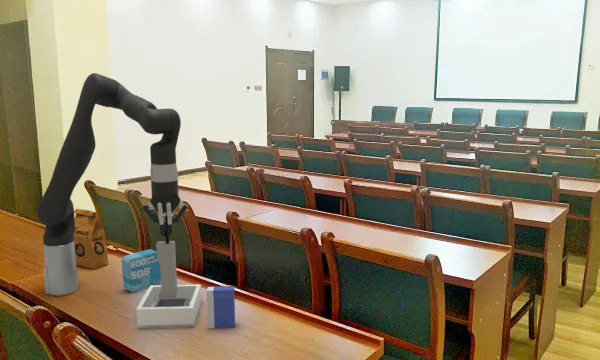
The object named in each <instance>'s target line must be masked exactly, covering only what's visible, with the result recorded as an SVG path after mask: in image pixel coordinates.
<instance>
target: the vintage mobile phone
mask: <svg viewBox="0 0 600 360" xmlns="http://www.w3.org/2000/svg"><path fill="white" fill-rule="evenodd" d="M165 224H166V237H165V241H163V240H162V241H161V240H160V241H158V240H157V243H155V244H156V245H155V248H156V249H155V251H156V252H157V256H158V261H159V263H160V269H161V281H160V284H161V290H160V293H159V298H175V297H176V294H177V285H178V280H177V278H178V276H177V261H176V260H177V258H176V256H177V255H176V241H174V240H169V239H170V237H168V233H167V225H168V217H167V215H165Z"/></svg>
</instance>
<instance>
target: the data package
mask: <svg viewBox="0 0 600 360" xmlns="http://www.w3.org/2000/svg"><path fill="white" fill-rule="evenodd" d="M121 269H122V270H121V271H122V285H123V288H124V290H127V291H129V292H131V293H135V292H136V293H137V292H139V291H141V290H142V291H143V290H145V289H148V288H149V287H150V285H160V284H161V269H160V263H159V261H158V256H157V250H153V249H151V248H150V249H144V250H142V251H138V252H134V253H130V254H125V255H124V256H123V257H122V259H121Z"/></svg>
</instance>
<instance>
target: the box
mask: <svg viewBox="0 0 600 360" xmlns="http://www.w3.org/2000/svg"><path fill="white" fill-rule="evenodd" d="M160 290H161V285H160V284H157V285H150V287H148V288H147V290H146V292H145V294H144V295H143V297H142V299H141V301H140V302H139V304H138V305H137V307H136V309H135V312H136V314H135V315H136V328H137V330H143V329H144V330H148V329H150V330H151V329H179V328H181V329H182V328H183V329H185V328H187V329H188V328H195V324H196V321H197V318H198V315H199V311H200V308H201V305H202V284H197V283H196V284H177V294H176V297H175V298H159V293H160Z"/></svg>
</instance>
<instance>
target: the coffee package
mask: <svg viewBox="0 0 600 360" xmlns="http://www.w3.org/2000/svg"><path fill="white" fill-rule="evenodd" d="M74 218H75V232H74V245H75V256H76V266H77V265H78V266H82V267H84V268H87V269H92V270H97V269H101V268H102V267H105V266H107V265H109V259H108V257H109V256H108V245H107V238H106V234H105V229H104V227H103V224H102V222H101V220H100V217H99V216H98V214H97V212H96V211H93V210H89V209H84V208H83V209H80V208H75V209H74Z"/></svg>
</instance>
